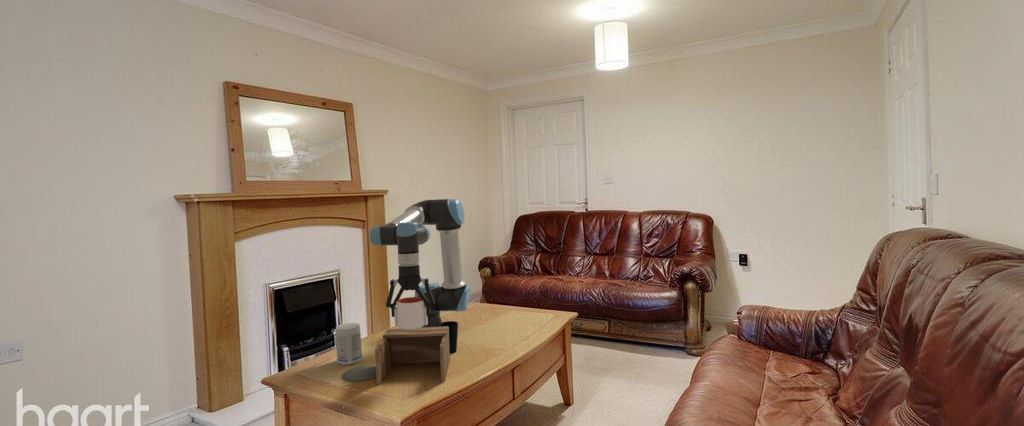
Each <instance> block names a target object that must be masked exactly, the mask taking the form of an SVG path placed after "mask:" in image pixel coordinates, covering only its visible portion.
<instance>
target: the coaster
mask: <svg viewBox="0 0 1024 426" xmlns="http://www.w3.org/2000/svg"><path fill="white" fill-rule="evenodd" d="M375 378H376V365H375V366H374V365H363V366H357V367H353V368H351V369H348V370H346V371H344V372H343V373H342V379H343V380H344V381H347V382H357V383H358V382H364V381H369V380H372V379H375Z"/></svg>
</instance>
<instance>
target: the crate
mask: <svg viewBox="0 0 1024 426" xmlns="http://www.w3.org/2000/svg"><path fill="white" fill-rule="evenodd" d="M374 354H375V355H374V357H375V367H376V377H375V378H376V385H377V386H380V385H381V384H382V382H383V380H384V379H385V377H386V375H387V374H388V372H389V371H390V369H391V367H392V365H399V364H401V365H402V364H417V363H418V364H420V363H421V364H423V363H440V382H441V383H445V382H446V377H447V373H448V370H449V367H450V366H449V365H450V363H451V355H450V345H449V326H445V327H421V328H419V329H415V330H402V329H400V328H399V327H398V328H387V330H386V331H385V332H384V333H383V335H382V338H381V341H379V343H378V344H377V345H376V346H375V348H374Z"/></svg>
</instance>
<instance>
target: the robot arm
mask: <svg viewBox="0 0 1024 426" xmlns="http://www.w3.org/2000/svg"><path fill="white" fill-rule="evenodd" d="M464 223H465V211H464V207H463V204H462V202H461V201H460V200H459V199H456V198H455V199H453V198H452V199H451V198H444V199H442V198H441V199H438V198H437V199H425V200H421V201H419V202H417V203H413V204H411V205H410V206H408V207H407V208H406V209H405V210H404V213H402V214H400V215H398V216H397V217H395V218H394V219H392V220H391V221H390V222H388V223H386V224H384V225H377V226H373V227H371V229H370V231H369V240H370V243H371V244H372V245H373V246H380V247H382V246H383V247H384V246H397V262H398V263H397V264H398V268H397V269H398V279H393V278H392V279H391V280H390V281H389V285H390V288H389V291H388V295H387V299H386V304H385V307H386V308H390V310H391V311H390V312H391V317H392V318H394V327H398V325H397V304H396V302H398V300H399V299H401V297H402V295H403V293H404V291H405V292H406V291H414V296H413V297H420V298H421V299H422V300H423V302H424V304H425V307H424V322H425V325H424V326H423V327H440V323H442V322H443V319H442V318H441V312H464V311H467V309H468V307H469V305H470V299H471V288H470V286H468V285H467V283H466V281H465V280H463V274H462V273H463V272H462V271H463V270H462V262H461V248H460V237H459V231H460V229H461V228H462V225H463V224H464ZM427 225H428V226H429V225H430V226H435V230H436V231H437V232H439V238H440V239H439V240H440V241H439V242H440V249H441V251H440V252H441V261H442V271H443V273H442V274H443V282H442V283H441V286H440V284H439V283H438V282H433V283H431V282H429V281H430V279H429V278H428V277H426V278H422V277H421V274H420V273H421V271H420V268H421V267H420V264H419V263H420V251H419V250H420V248H419V247H420V246H422V245H424V244H425V243H426V242H428V241H429V240H430V237H431V232H430V229H429V228H428V227H427ZM420 283H422V285H421V284H420ZM397 284H398V285H399V286H400V289H399V290H398V293H397V294H396V296H395V298H394V297H393V296H394V292H395V288H396V286H397ZM393 298H394V300H393ZM392 300H393V302H392Z"/></svg>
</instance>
